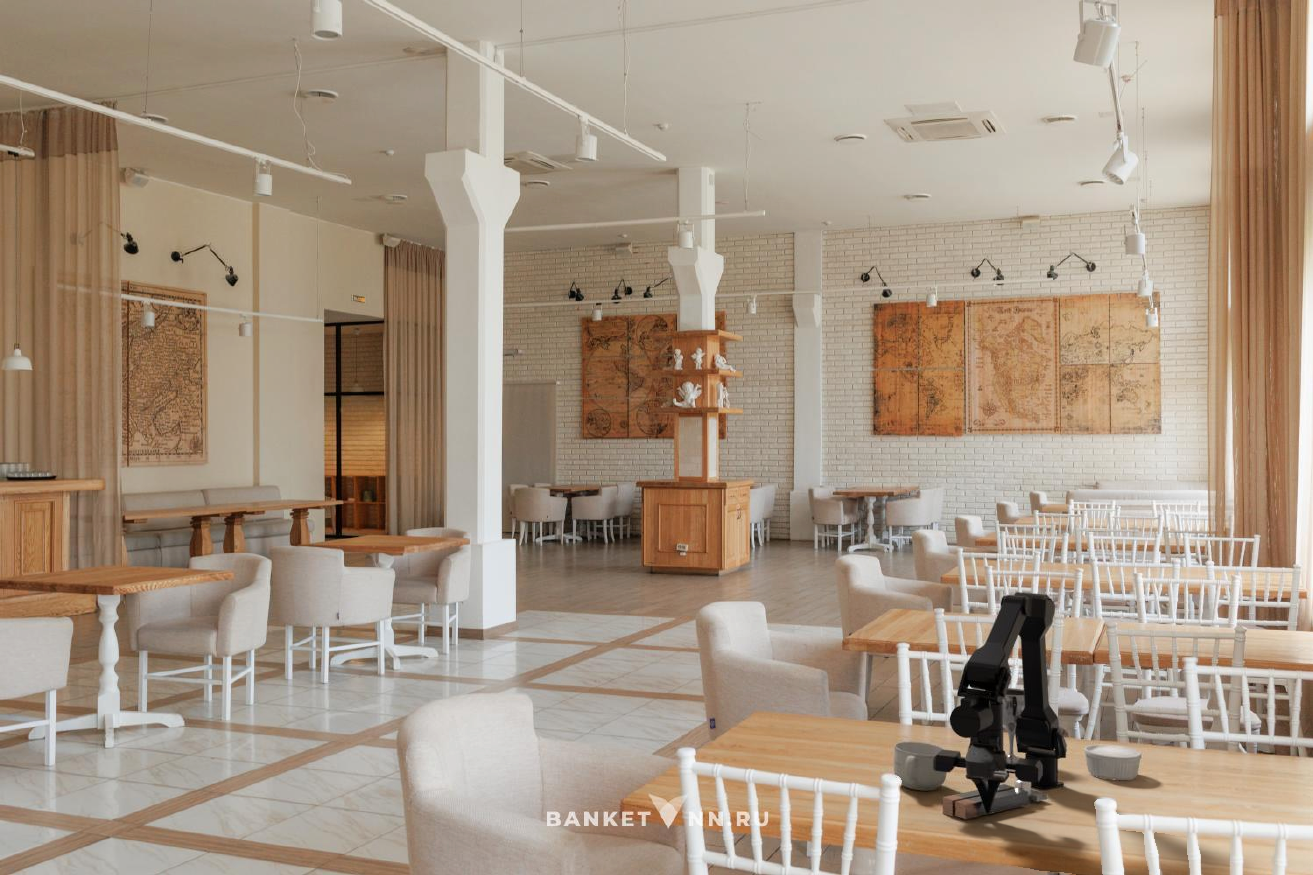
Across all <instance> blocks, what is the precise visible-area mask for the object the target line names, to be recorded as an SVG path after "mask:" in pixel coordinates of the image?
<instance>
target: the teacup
mask: <svg viewBox="0 0 1313 875" xmlns="http://www.w3.org/2000/svg"><path fill="white" fill-rule="evenodd" d="M893 744H894V743H893ZM893 748H894V750H893V752H894V753H893V771H894V776H895V775H897V776H899V777H900V778H901V780H902V783H901V785H903V787H906V788H908V789H911V790H915V791H916V790H917V791H921V792H922V791H924V792H925V791H926V792H927V791H934V790H937V788H938V787H940V786H942V785H943V784H944V783H945V781H946V779H947V778H946V777H947V774H948V772H941V771H935V770H933V759H934V757H935V756H936V755H937V754H938V753H939V752H940V751H941V750H942V749H943V750H948V749H947V748H946V747H943V746H940V745H936V744H932V743H927V742H923V741H900V742H897V743H895V744H894V745H893Z"/></svg>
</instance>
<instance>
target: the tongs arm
mask: <svg viewBox="0 0 1313 875" xmlns="http://www.w3.org/2000/svg"><path fill="white" fill-rule="evenodd" d="M1028 805H1029V804H1028V791H1025V790H1022V789H1019V788H1016V789H1015V788H1014V789H1011V790H1007V791H1002V792H997V793H996V795H995V798H994V801H993V804H992V807H991V810H990V812H989V813H986V811H985V808H984V805H983V803H982V800H981V797H980V796H979V797H974V798H969V799H965V800H960V801H955V816H954V817H959V818H961V819H963V820H967V819H972V818H977V817H982V816H985V815H990V814H994V813H995V814H996V813H998V812H1003V811H1007V810H1012V809H1016V808H1021V807H1025V806H1028Z"/></svg>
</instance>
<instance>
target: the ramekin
mask: <svg viewBox="0 0 1313 875" xmlns="http://www.w3.org/2000/svg"><path fill="white" fill-rule="evenodd" d="M1083 751H1084V754H1085V761H1086V766H1087V771H1088V772H1089V773H1091V774H1092V775H1091V774H1090V775H1091V776H1093V775H1094V776H1093V777H1095V776H1097V777H1096V778H1098V777H1100V778H1099V779H1102V778H1106V779H1115V780H1128V781H1130V780H1129V779H1133V778H1134V779H1136V778H1137V776H1138V774H1139V768H1140V762H1141V759H1142V753H1141V752H1140V751H1139V750H1138V749H1135V748H1132V747H1127V746H1124V745H1122V746H1121V745H1116V744H1114V745H1113V744H1091V745H1087V746H1085V747H1084V750H1083ZM1106 779H1105V780H1106ZM1134 779H1133V780H1134Z"/></svg>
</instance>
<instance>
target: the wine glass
mask: <svg viewBox="0 0 1313 875" xmlns="http://www.w3.org/2000/svg"><path fill="white" fill-rule="evenodd" d="M1023 709H1024V689H1021V688H1013V687H1008V690H1007V693H1006V696H1005V699H1003V728H1005V730H1006V732H1007V735H1008V741H1009V744H1008V745H1009V752H1008V754H1006V759H1007V762H1011V763H1017V761H1018V760H1019V759H1020V758H1023V757H1022V756H1017V755H1015V753H1014V744H1015V729H1016V720H1017V718H1018V717H1019V716H1020V714H1021V712H1022V711H1023Z"/></svg>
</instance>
